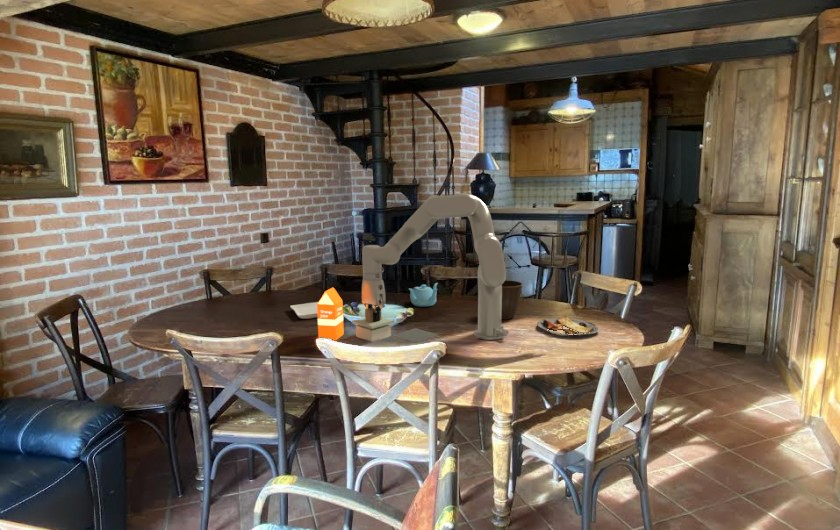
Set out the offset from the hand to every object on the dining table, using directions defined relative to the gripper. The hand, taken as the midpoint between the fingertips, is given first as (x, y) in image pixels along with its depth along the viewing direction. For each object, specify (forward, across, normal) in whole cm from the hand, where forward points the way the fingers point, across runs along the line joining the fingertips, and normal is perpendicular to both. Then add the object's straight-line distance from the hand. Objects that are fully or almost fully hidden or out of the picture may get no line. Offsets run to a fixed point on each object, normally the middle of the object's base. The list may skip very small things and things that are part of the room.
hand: (373, 320), depth 212 cm
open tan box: (+7, 0, 0) cm, 7 cm away
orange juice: (+8, +14, +11) cm, 19 cm away
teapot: (+8, +23, -54) cm, 59 cm away
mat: (+7, -11, -13) cm, 18 cm away
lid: (+1, 0, 0) cm, 1 cm away
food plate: (+8, -52, -63) cm, 82 cm away
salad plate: (+8, +50, -6) cm, 51 cm away
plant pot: (+8, -21, -62) cm, 66 cm away
